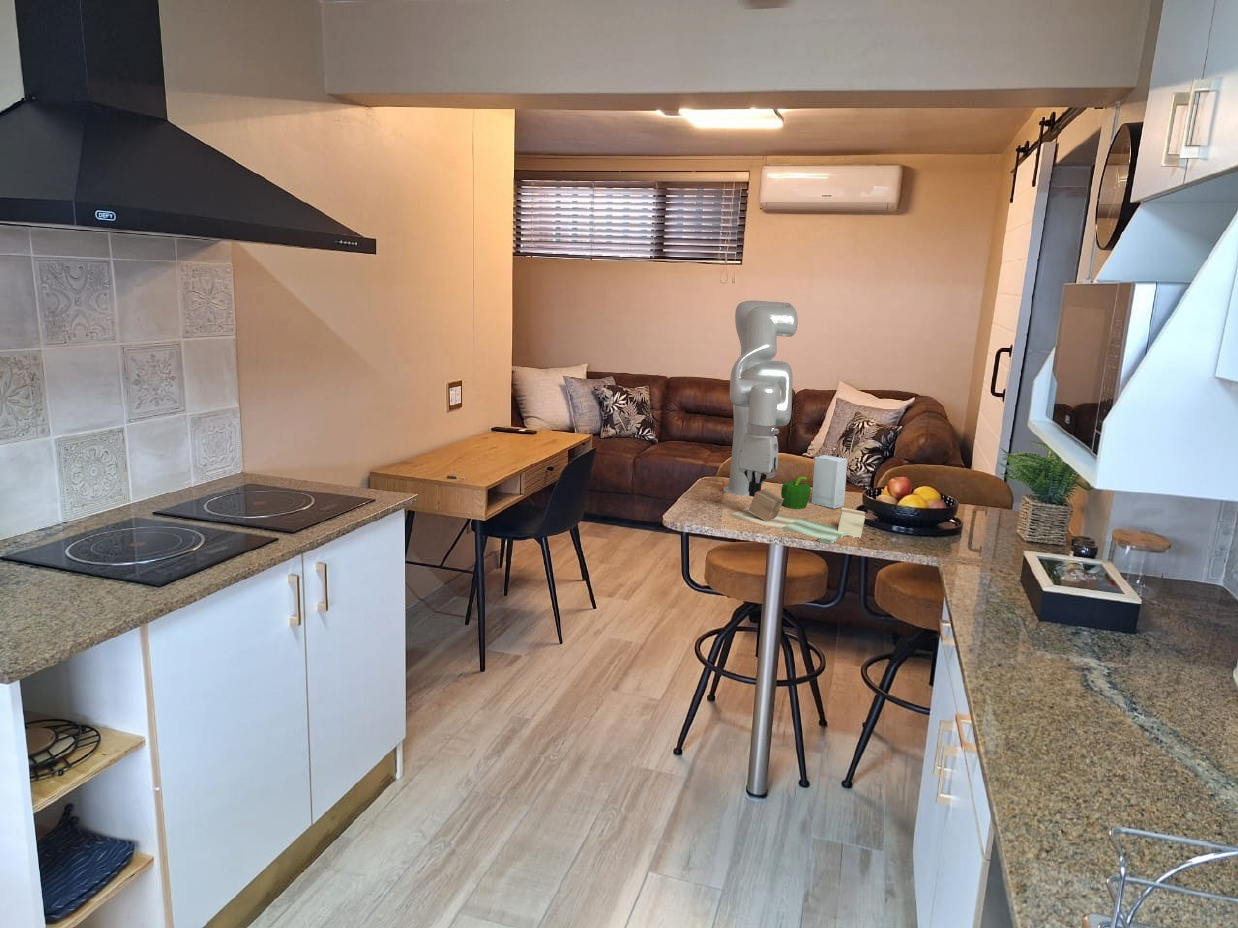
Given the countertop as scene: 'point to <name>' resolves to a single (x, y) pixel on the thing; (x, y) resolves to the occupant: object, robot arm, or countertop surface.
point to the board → (794, 525)
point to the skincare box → (829, 481)
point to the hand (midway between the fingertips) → (754, 495)
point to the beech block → (851, 522)
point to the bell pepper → (795, 494)
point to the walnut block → (765, 505)
